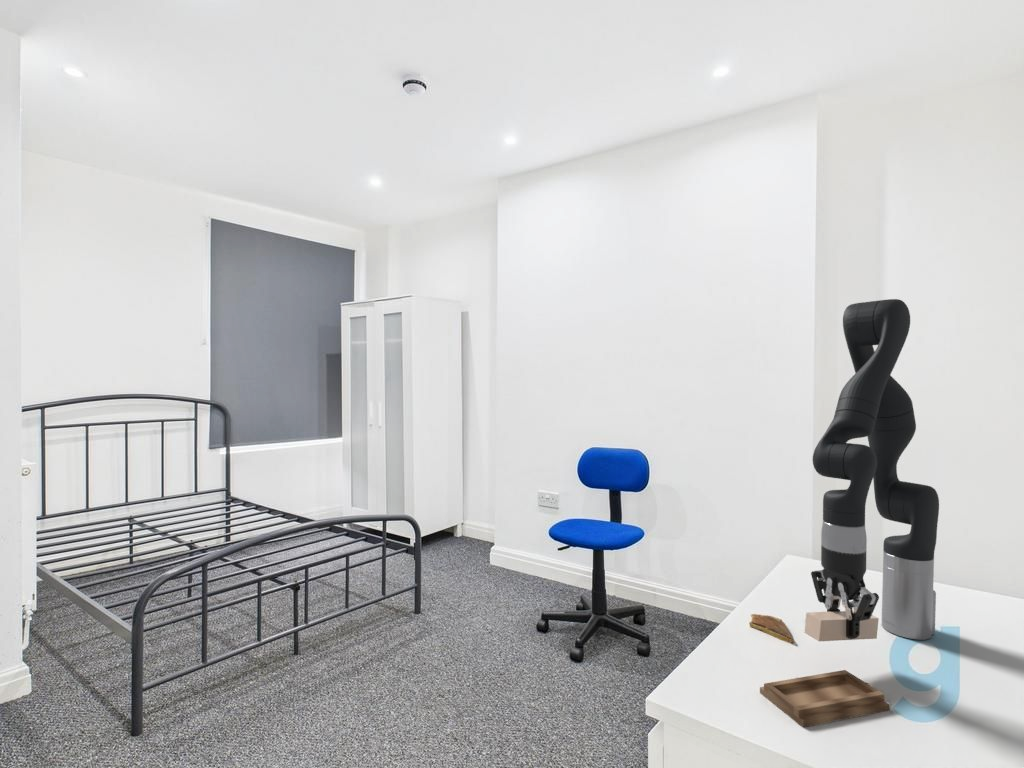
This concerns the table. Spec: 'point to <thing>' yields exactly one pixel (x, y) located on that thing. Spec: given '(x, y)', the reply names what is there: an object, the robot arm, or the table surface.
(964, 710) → the table surface
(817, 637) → the beige rectangular block
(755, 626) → the shard
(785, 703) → the brown wooden tray
